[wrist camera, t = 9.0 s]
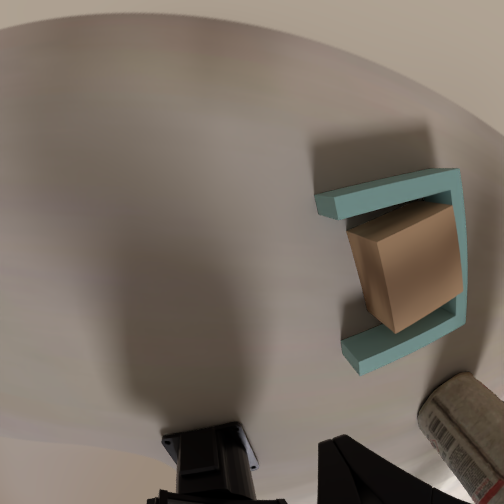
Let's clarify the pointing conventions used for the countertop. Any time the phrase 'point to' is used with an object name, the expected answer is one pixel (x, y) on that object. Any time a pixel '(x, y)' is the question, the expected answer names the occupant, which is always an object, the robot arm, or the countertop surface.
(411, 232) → the walnut block
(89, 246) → the countertop surface
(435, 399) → the spray can
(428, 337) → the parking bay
